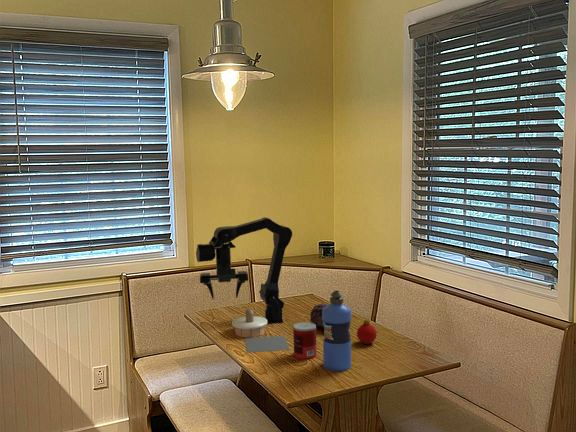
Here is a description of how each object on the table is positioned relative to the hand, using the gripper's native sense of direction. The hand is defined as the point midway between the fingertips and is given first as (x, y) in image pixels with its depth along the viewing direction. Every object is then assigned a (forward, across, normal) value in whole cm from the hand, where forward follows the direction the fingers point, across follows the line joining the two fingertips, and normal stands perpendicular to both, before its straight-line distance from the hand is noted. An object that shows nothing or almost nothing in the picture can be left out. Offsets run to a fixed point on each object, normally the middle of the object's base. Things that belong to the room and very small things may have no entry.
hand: (224, 298), depth 234 cm
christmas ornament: (+12, +50, -28) cm, 59 cm away
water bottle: (+12, +35, -47) cm, 60 cm away
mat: (+12, +14, -23) cm, 29 cm away
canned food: (+12, +26, -37) cm, 47 cm away
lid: (+8, +9, -9) cm, 15 cm away
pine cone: (+12, +38, -9) cm, 41 cm away
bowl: (+12, +9, -9) cm, 17 cm away
